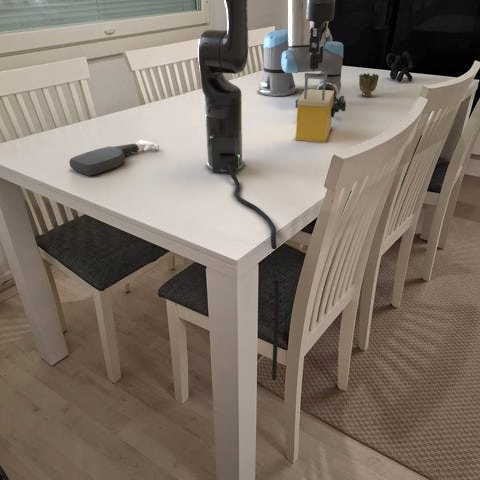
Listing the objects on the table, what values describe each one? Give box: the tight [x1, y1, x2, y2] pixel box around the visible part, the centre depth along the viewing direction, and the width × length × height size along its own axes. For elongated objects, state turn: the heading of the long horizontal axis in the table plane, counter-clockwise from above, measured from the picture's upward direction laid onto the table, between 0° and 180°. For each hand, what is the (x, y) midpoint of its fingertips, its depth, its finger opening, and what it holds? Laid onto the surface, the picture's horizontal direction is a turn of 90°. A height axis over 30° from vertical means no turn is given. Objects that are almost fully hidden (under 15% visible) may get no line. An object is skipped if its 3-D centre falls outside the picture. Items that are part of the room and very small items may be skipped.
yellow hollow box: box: [295, 95, 334, 143], centre depth 138 cm, size 13×9×11 cm
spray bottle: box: [68, 139, 160, 177], centre depth 124 cm, size 3×11×24 cm
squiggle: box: [385, 51, 414, 83], centre depth 198 cm, size 11×10×15 cm
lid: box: [297, 72, 334, 107], centre depth 132 cm, size 14×9×8 cm, turn 163°
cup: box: [358, 72, 380, 98], centre depth 176 cm, size 8×7×8 cm
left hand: (316, 65), depth 125 cm, fingers open, 8 cm apart
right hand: (316, 111), depth 140 cm, fingers closed on yellow hollow box, 9 cm apart
